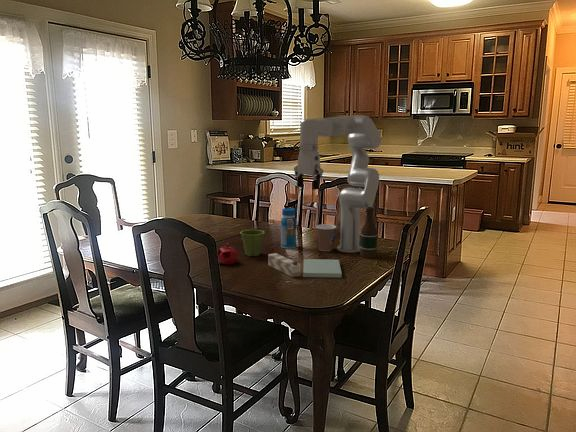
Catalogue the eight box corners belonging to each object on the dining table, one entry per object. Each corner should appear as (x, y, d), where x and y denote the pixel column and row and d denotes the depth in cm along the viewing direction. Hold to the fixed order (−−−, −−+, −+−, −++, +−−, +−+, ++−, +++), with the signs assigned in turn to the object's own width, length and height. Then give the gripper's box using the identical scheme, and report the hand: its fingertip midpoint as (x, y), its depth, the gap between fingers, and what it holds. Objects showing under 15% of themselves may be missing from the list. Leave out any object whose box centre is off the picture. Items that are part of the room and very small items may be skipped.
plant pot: (268, 252, 235) (267, 230, 233) (260, 258, 224) (260, 235, 222) (245, 250, 239) (245, 228, 236) (236, 256, 227) (236, 234, 225)
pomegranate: (227, 258, 225) (227, 239, 223) (243, 262, 219) (242, 242, 217) (212, 263, 217) (211, 243, 216) (227, 267, 211) (226, 247, 209)
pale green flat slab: (303, 262, 218) (303, 259, 217) (338, 263, 217) (338, 259, 217) (303, 276, 198) (303, 272, 198) (341, 277, 197) (341, 273, 197)
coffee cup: (334, 252, 235) (335, 229, 232) (314, 251, 237) (314, 228, 234) (336, 247, 245) (337, 224, 242) (317, 246, 247) (317, 223, 244)
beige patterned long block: (300, 275, 199) (300, 261, 198) (292, 277, 197) (292, 263, 196) (275, 263, 216) (275, 251, 215) (268, 265, 214) (268, 252, 212)
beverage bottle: (277, 247, 244) (277, 209, 240) (285, 244, 251) (285, 207, 247) (292, 249, 240) (292, 211, 236) (299, 246, 247) (299, 208, 243)
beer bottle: (368, 259, 223) (370, 209, 218) (356, 256, 229) (358, 207, 224) (379, 257, 227) (381, 207, 223) (368, 253, 233) (369, 205, 229)
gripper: (329, 149, 199) (328, 189, 202) (301, 147, 212) (300, 185, 215) (316, 149, 194) (315, 190, 197) (288, 147, 207) (288, 186, 210)
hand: (307, 188), depth 206 cm, fingers open, 9 cm apart
